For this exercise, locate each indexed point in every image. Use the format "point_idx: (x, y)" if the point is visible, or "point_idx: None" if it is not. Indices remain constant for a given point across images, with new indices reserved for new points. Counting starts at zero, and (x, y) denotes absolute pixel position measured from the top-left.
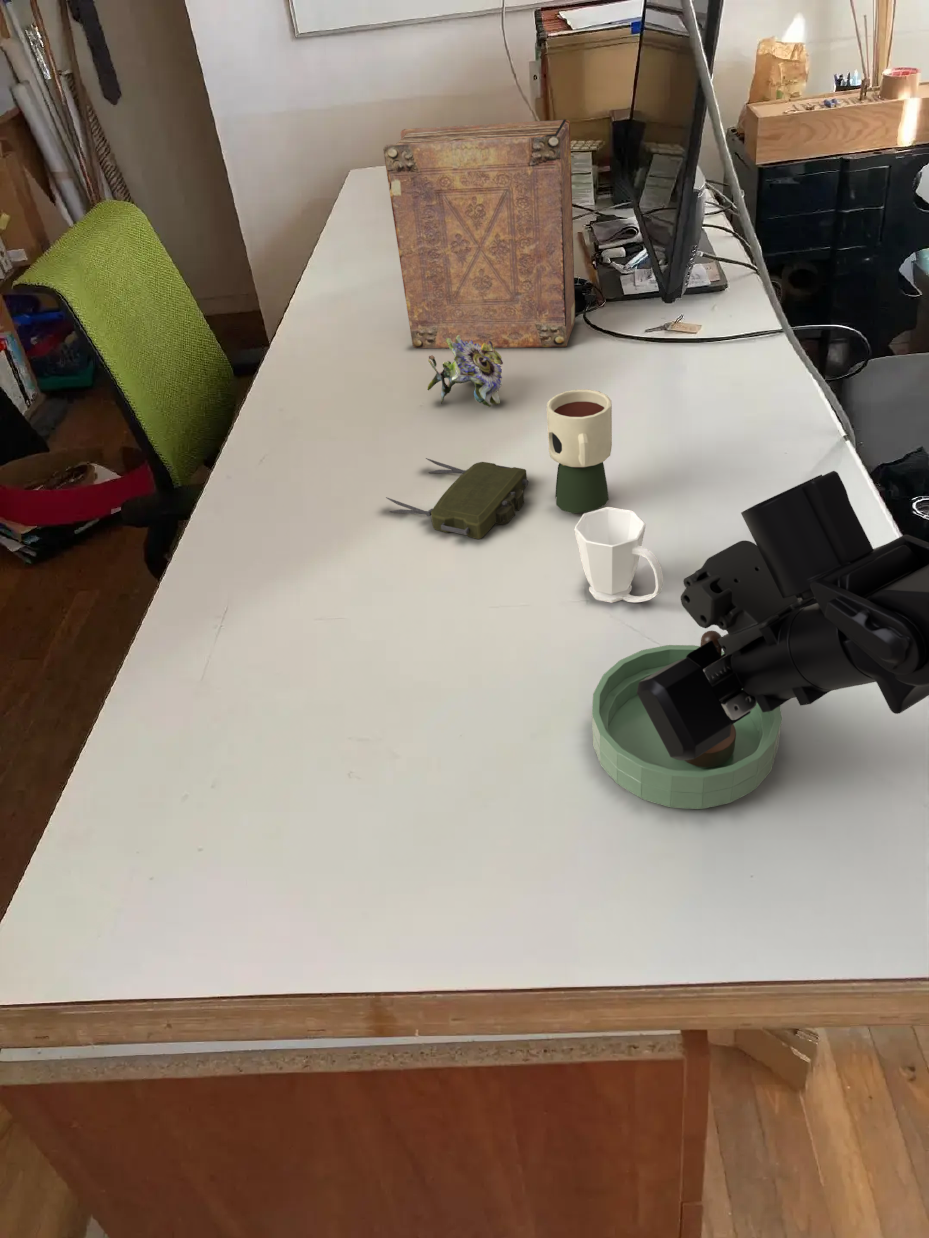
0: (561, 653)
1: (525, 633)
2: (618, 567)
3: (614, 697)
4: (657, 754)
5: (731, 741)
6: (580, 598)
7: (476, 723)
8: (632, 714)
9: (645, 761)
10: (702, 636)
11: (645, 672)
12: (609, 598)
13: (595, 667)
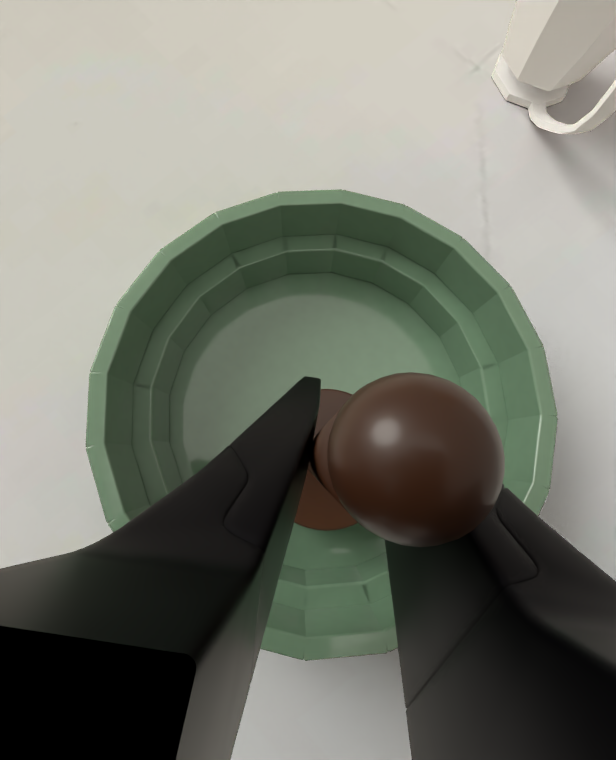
0: (343, 118)
1: (337, 47)
2: (576, 3)
3: (279, 252)
4: (251, 399)
5: (339, 525)
6: (473, 57)
7: (114, 123)
8: (301, 301)
9: (220, 394)
10: (376, 388)
11: (382, 253)
12: (509, 88)
13: (358, 180)
